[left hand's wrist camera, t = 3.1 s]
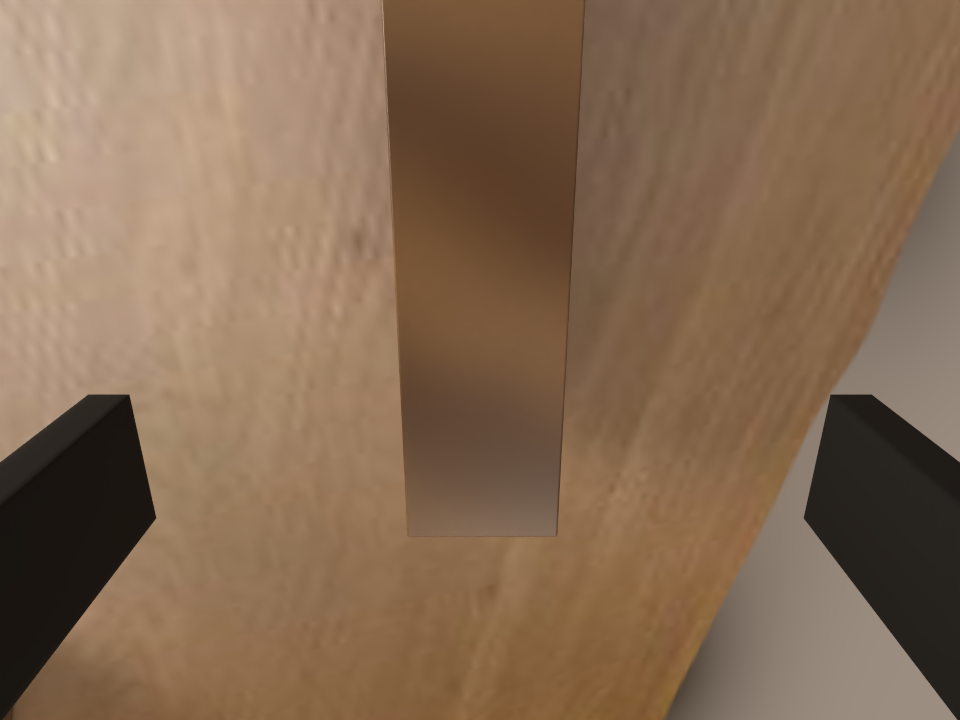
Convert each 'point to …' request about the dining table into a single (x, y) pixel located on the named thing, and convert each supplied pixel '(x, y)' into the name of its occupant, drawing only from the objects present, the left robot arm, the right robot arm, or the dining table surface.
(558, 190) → the post
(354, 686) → the dining table surface
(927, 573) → the left robot arm
